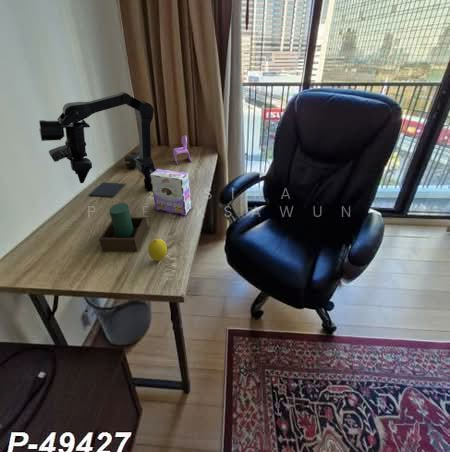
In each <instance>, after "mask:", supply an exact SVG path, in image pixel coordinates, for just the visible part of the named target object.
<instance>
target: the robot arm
mask: <svg viewBox="0 0 450 452" xmlns="http://www.w3.org/2000/svg"><path fill="white" fill-rule="evenodd" d="M124 105H127V106H128V107H130V108H132V109H133V110H134V113H135V114H134V115H135V117H136V120H137V122H138V131H139V132H138V134H139V136H138V137H139V138H138V139H139V151H140V156H139V159H136V168H135V169H137V170H138V171H139V173H141V174H142V176H143V177H144V178H143V184H144V189H145V190H146V192H153V190H152V184H151V179H150V174H152V173H153V172H154V171H155V170H157V169H156V168H155V164H154V160H153V158H152V148H151V147H152V146H151V143H152V142H151V123H152V121H153V118H154V112H155V109H154V106H153V105H152V104H151V103H149V102H147V101H144V100H138V99H137V98H135V97H133V96H131V95H130V94H129V93H127V92H124V91H121V92H120V93H116V94H112V95H109V96H105V97H101V98H97V99H93V100H90V101H74V102H67V103H65V104H64V105H63V107H62V112H61V114H60V115H59V117H58V118H57V119H56V120H44V119H40V120H38V123H39V129H38V131H39V136H40V141H41V142H48V141H50V142H51V141H62V139H64V138H65V137H66V140H65V141H64V143H65V144H64V145H60V146H57V147H54V148H51V149H49V150H48V154H49V156H50V158H51V159H52V161H53V162H54V163H58V162H59V161H60V160H63V159H65V158H66V159H67V160H68V161H69V163H70V168H71V171H73V172H74V174H75V175H77V178H78V181H79V184H84V183H85V181H86V178H87V177H88V174H89V172H90V170H92V168H93V162H92V161H91V159H89V158H88V153H87V150H86V147H87V142H86V139H85V138H86V137H85V128H90V127H91V125H90V124H89V123H87V122H86V120H85V119H87V118H89V117H91V116H92V115H93V114H97V113H100V112H102V111H107V110H109V109H114V108H116V107H120V106H124ZM64 129H65V130H64Z"/></svg>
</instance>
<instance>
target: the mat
mask: <svg viewBox="0 0 450 452" xmlns="http://www.w3.org/2000/svg"><path fill="white" fill-rule="evenodd" d="M124 186H125V183H119V182H117V183H116V182H101V184H100V185H98V186H97V187H96V188H95V189H94V190H93V191H92V192H90V193H89V196H90V197H102V198H103V197H104V198H114V196H115V195H116V194H117V193H119V192H120V190H121V189H122V188H123V187H124Z"/></svg>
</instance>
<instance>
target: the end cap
mask: <svg viewBox="0 0 450 452" xmlns="http://www.w3.org/2000/svg"><path fill="white" fill-rule="evenodd" d="M139 156H140V150H139V151H138V152H137V151H136V152H133V151H132V152H131V153H130V155H127V156H125V157H124V162H126V163H125V167H126V169H127V170H135V169H137V168H136V159H139Z"/></svg>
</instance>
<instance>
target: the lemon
mask: <svg viewBox="0 0 450 452" xmlns="http://www.w3.org/2000/svg"><path fill="white" fill-rule="evenodd" d="M147 249H148V250H147V251H148V255H149V257H150V259H151V260H153V261H155V262H158V261H162V260H164V259H165V257H166V256H167V253H168V247H167V244H166V242H165V240H163V239H161V238H154V239H152V240H151V241H150V243H149V245H148V248H147Z"/></svg>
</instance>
